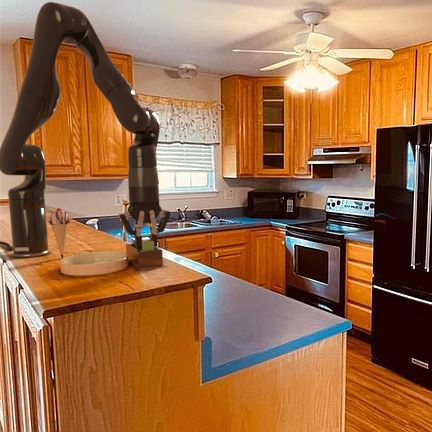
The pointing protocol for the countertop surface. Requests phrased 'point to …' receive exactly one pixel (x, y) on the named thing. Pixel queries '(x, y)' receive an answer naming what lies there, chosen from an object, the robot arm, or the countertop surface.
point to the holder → (144, 257)
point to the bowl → (94, 263)
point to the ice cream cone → (60, 228)
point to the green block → (147, 245)
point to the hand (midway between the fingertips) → (146, 248)
